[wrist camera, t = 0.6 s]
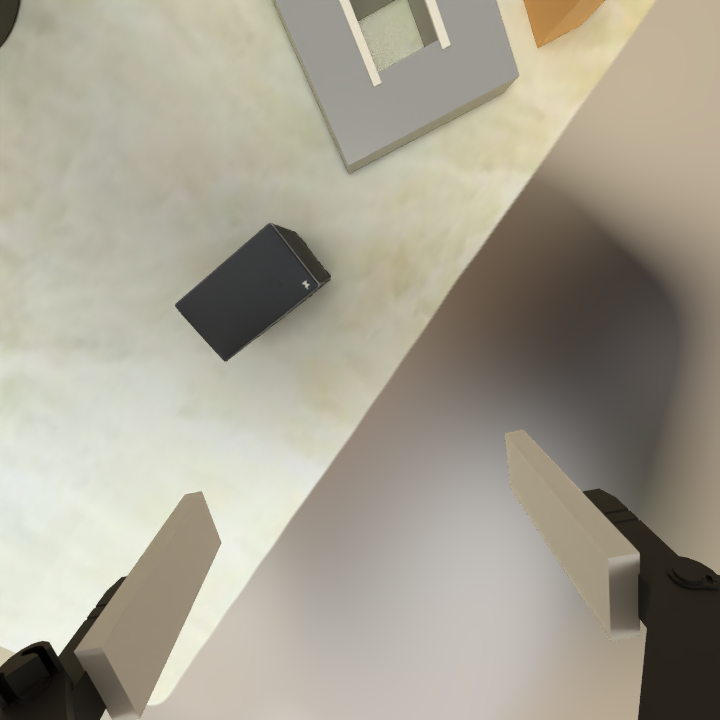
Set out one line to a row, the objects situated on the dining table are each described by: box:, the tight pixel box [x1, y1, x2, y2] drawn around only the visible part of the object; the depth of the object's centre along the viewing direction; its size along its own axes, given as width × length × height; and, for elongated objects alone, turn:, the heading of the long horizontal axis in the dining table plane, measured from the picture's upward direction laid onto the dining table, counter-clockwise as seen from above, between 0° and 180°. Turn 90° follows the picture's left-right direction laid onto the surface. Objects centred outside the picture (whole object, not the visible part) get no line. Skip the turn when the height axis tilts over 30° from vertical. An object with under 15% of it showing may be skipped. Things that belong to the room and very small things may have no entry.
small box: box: [175, 223, 331, 361], centre depth 34 cm, size 11×6×10 cm, turn 128°
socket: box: [273, 0, 519, 173], centre depth 32 cm, size 16×16×4 cm
